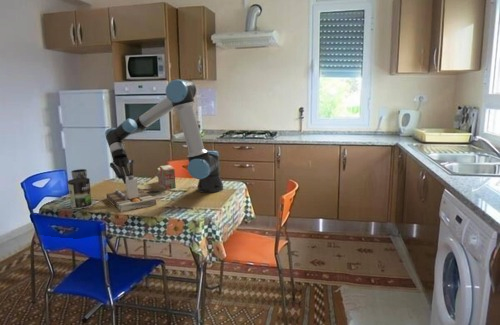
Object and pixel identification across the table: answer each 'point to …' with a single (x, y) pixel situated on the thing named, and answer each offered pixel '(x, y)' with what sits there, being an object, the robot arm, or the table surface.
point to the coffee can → (80, 193)
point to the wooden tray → (130, 200)
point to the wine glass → (79, 173)
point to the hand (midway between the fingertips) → (129, 187)
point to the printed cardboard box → (166, 176)
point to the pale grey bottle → (131, 187)
